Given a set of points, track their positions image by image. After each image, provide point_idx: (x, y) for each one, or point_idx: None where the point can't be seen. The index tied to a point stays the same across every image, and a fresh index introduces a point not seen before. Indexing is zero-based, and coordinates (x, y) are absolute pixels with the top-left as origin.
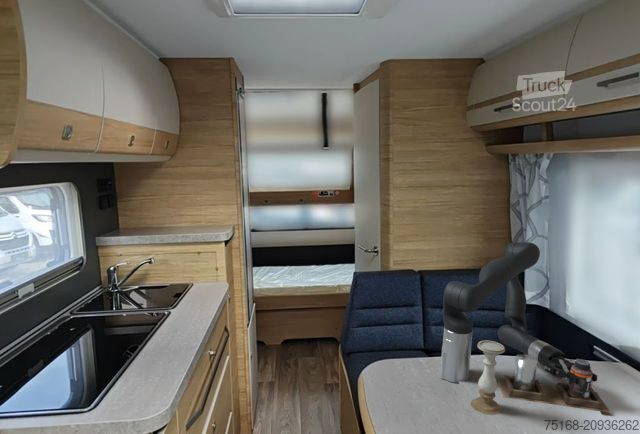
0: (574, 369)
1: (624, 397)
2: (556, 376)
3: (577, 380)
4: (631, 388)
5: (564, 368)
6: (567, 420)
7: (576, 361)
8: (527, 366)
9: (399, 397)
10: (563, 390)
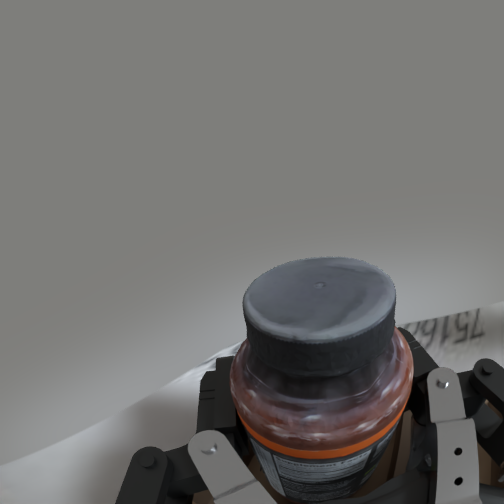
0: (401, 335)
1: (85, 454)
2: (485, 410)
3: None
4: (17, 466)
5: (454, 414)
6: (425, 347)
7: (391, 283)
8: None
9: None
10: (406, 458)
